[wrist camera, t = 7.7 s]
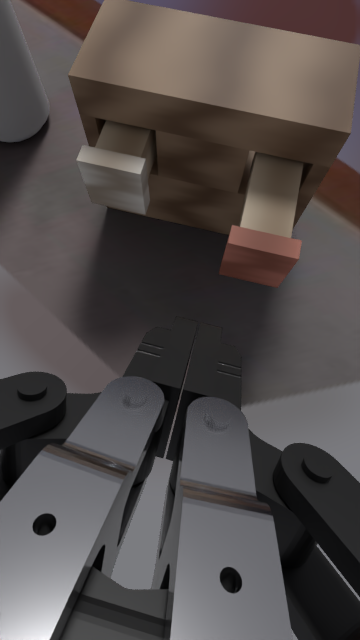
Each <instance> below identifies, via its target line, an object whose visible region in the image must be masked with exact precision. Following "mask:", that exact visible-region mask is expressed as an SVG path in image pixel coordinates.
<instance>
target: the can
mask: <svg viewBox="0 0 360 640" xmlns="http://www.w3.org/2000/svg"><path fill="white" fill-rule="evenodd" d="M49 112H50V109H49V101H48V98H47V96H46V93H45V90H44V88H43V85H42V83H41V80H40V77H39V75H38V72H37V69H36V67H35V64H34V62H33V59H32V56H31V54H30V51H29V48H28V46H27V43H26V40H25V38H24V35H23V33H22V30H21V27H20V25H19V22H18V19H17V17H16V14H15V12H14V9H13V6H12V4H11V1H10V0H0V141H3V142H20V141H23V140H25V139H28V138H30V137H32V136H33V135H35V134H36V133H37V132H38V131H39V130H40V128H41V127H42V125H43V124H44V123H45V122H46V120H47V118H48V115H49Z"/></svg>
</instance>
